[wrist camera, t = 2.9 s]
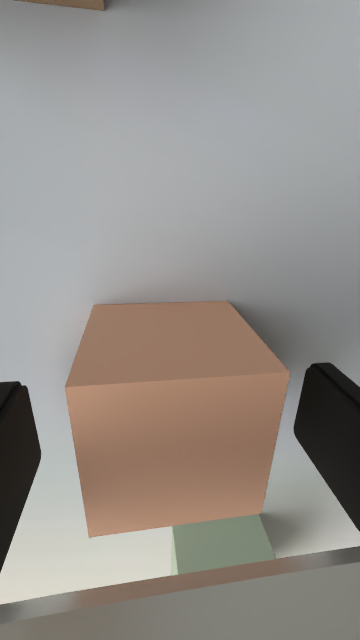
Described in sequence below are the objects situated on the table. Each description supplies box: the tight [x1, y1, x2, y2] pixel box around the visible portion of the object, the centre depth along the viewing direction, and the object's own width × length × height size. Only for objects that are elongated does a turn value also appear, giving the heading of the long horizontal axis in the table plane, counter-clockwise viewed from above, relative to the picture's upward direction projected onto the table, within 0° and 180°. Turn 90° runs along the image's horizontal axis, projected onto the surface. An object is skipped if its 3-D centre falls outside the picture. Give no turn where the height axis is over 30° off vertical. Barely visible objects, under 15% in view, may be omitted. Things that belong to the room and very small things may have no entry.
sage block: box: [171, 514, 276, 576], centre depth 15 cm, size 5×5×5 cm
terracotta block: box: [65, 301, 290, 537], centre depth 10 cm, size 5×5×5 cm
